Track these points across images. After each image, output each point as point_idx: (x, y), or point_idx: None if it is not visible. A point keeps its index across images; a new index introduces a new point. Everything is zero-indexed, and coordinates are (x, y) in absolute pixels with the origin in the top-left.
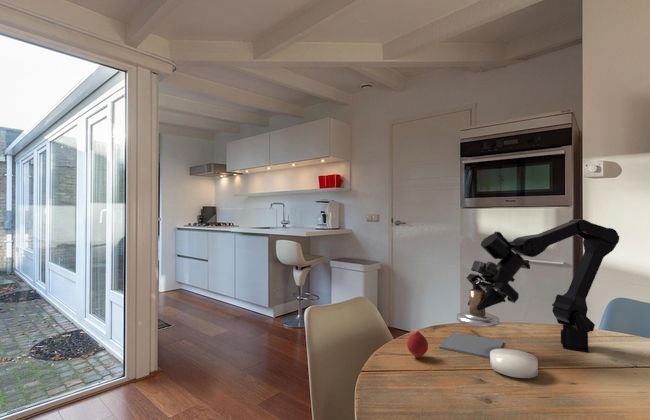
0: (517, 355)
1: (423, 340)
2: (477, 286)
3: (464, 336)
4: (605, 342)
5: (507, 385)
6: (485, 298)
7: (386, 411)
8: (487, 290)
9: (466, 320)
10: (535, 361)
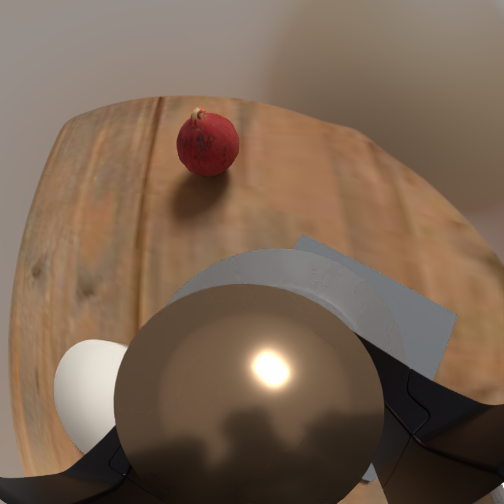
0: (104, 423)
1: (181, 144)
2: (449, 482)
3: (420, 352)
4: None
5: (66, 340)
6: (110, 432)
7: (58, 140)
8: (71, 492)
9: (196, 283)
10: (73, 439)
